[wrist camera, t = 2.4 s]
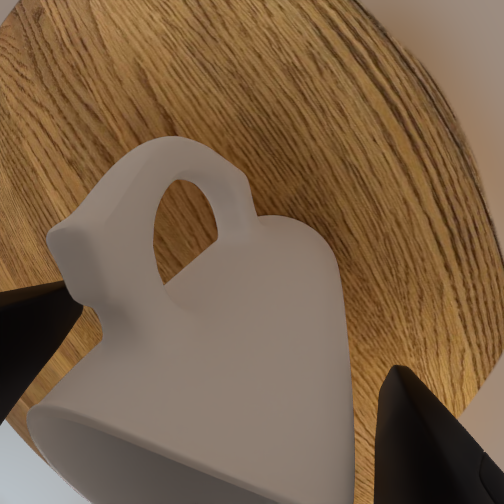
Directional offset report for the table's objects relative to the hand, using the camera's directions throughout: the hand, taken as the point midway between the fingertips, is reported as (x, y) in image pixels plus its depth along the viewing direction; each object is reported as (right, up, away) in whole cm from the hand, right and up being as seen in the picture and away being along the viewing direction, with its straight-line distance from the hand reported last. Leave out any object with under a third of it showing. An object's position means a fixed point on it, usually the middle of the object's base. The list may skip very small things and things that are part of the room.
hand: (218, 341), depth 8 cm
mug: (+2, +3, +7) cm, 8 cm away
